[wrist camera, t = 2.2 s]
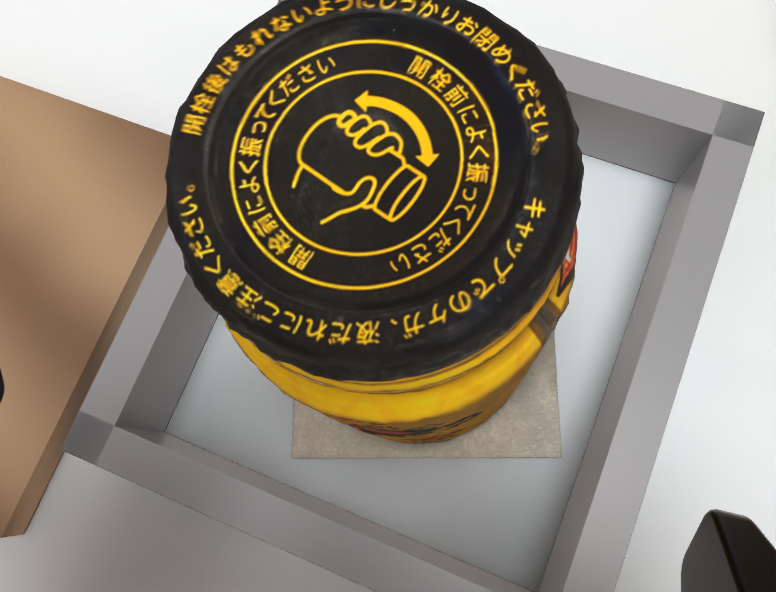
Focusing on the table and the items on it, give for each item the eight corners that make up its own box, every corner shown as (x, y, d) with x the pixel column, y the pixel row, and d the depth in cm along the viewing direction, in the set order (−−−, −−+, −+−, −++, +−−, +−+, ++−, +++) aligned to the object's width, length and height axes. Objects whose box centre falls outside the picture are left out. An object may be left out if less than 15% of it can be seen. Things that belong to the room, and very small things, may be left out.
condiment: (293, 458, 19) (53, 441, 8) (301, 174, 21) (123, -175, 10) (560, 457, 19) (735, 439, 7) (543, 165, 21) (658, -220, 9)
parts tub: (562, 649, 18) (584, 685, 15) (117, 452, 20) (60, 449, 17) (720, 163, 20) (764, 112, 17) (312, 37, 22) (292, -27, 20)
